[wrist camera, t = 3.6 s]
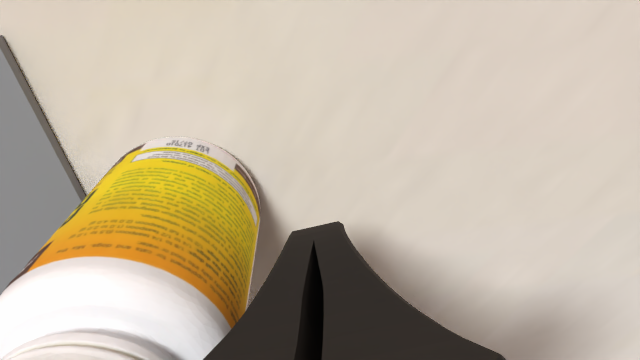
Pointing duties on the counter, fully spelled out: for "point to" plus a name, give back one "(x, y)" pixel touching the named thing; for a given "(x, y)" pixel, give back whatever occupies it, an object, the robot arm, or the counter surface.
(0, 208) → the mat
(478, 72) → the counter surface
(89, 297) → the supplement bottle
